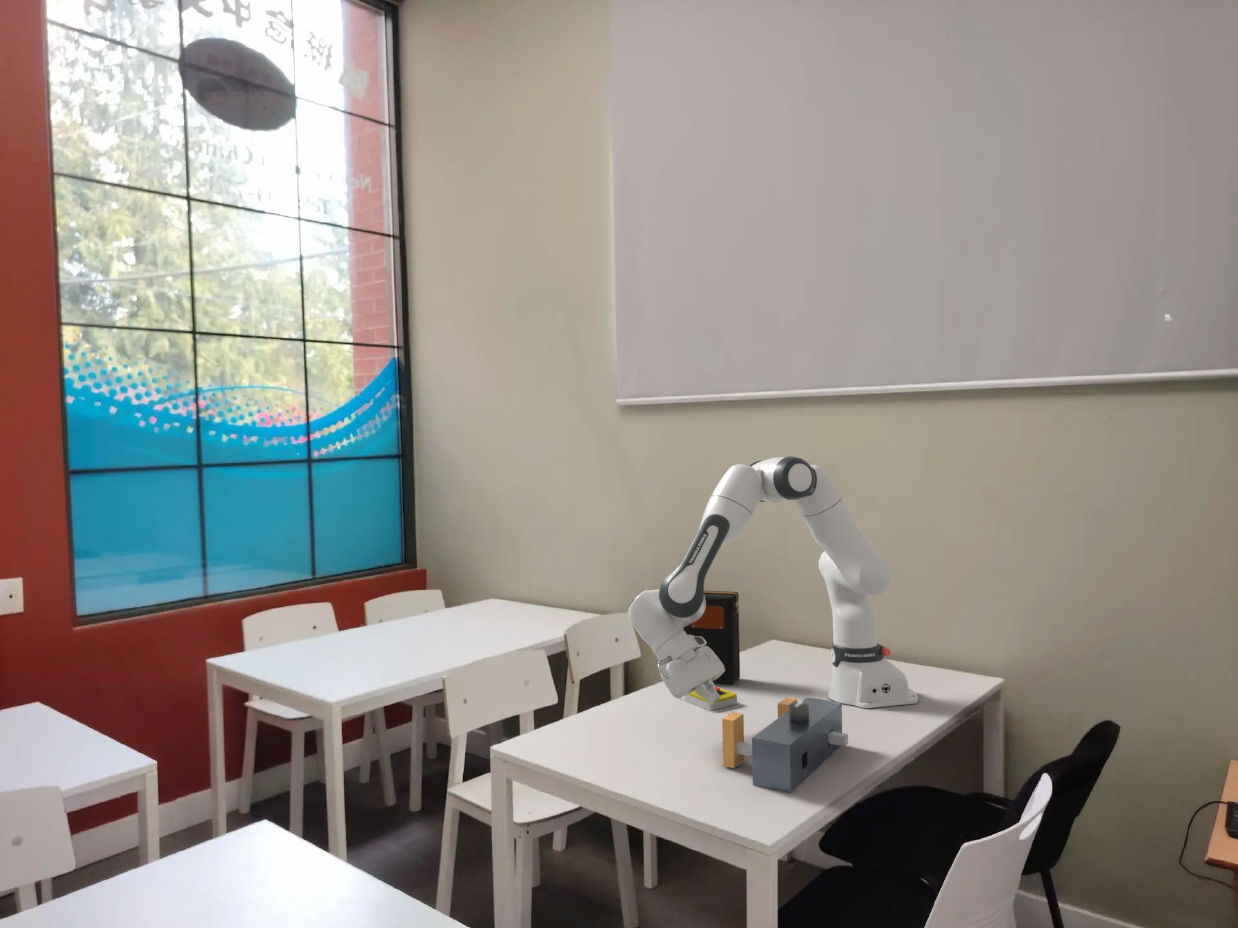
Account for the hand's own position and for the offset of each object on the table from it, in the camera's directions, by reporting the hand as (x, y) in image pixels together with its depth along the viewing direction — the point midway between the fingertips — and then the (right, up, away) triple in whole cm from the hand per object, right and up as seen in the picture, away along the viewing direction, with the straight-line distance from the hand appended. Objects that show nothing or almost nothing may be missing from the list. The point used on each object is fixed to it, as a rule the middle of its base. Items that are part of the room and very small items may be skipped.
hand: (715, 701), depth 198 cm
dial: (+16, 0, -14) cm, 21 cm away
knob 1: (+7, -9, -17) cm, 20 cm away
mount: (+16, -10, -13) cm, 23 cm away
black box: (+4, -8, +49) cm, 50 cm away
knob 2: (+21, -9, -7) cm, 24 cm away
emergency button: (+2, -9, +29) cm, 31 cm away
